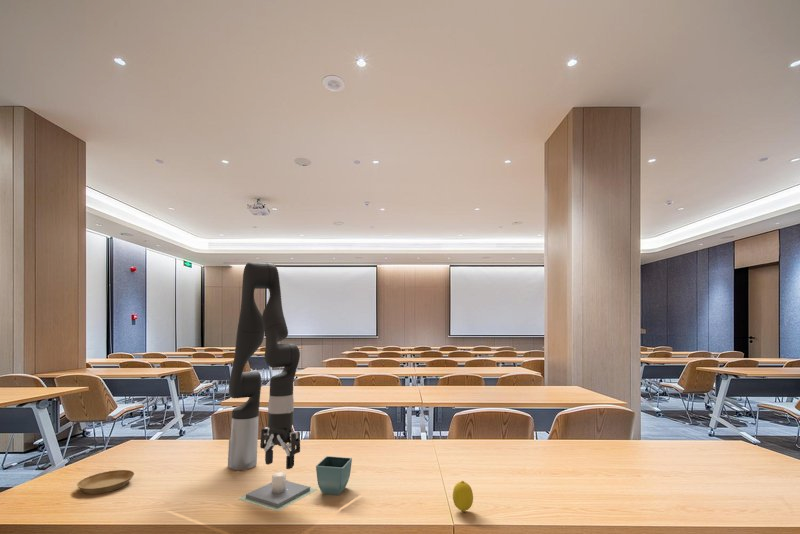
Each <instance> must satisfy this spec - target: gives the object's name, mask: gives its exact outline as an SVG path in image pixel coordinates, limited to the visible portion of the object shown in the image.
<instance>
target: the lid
mask: <svg viewBox="0 0 800 534" xmlns="http://www.w3.org/2000/svg"><path fill="white" fill-rule="evenodd" d="M310 488H311V487H310V486H308V485H304V484H300V483H296V482H292V481H290V480H287V473H286V472H281V471H280V472H276V473H273V474H272V475H271V482H269V483H267V484H265V485H263V486H260V487H258V488H257V489H255V490H252V491H250V492H247V493H246V494H245V495H246V498H248V499H251V500H254V501H257V502H261V503H264V504H267V505H270V506H274V507H277V508H279V507H280V506H282V505H284V504H286V503H288V502H290V501H291V500H293V499H295V498H297V497H299V496H300V495H302V494H304V493H306V492H308V491H310Z"/></svg>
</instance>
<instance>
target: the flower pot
mask: <svg viewBox="0 0 800 534" xmlns="http://www.w3.org/2000/svg"><path fill="white" fill-rule="evenodd" d="M352 462H353V458H352V457H341V456H340V457H339V456H331V455H330V456H327V455H326V456H325V457H324V458H323V459H321V461H319V463H317V464H316V465H315V471H316V480H317V485H318V488H319V490H320V492H321V493H322V494H324V495H336V496H340V495H341V494H342V492H344V490H345V488H346V486H347V485H348V483H349V481H350V480H349V479H350V476H351V470H352V464H353V463H352Z"/></svg>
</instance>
